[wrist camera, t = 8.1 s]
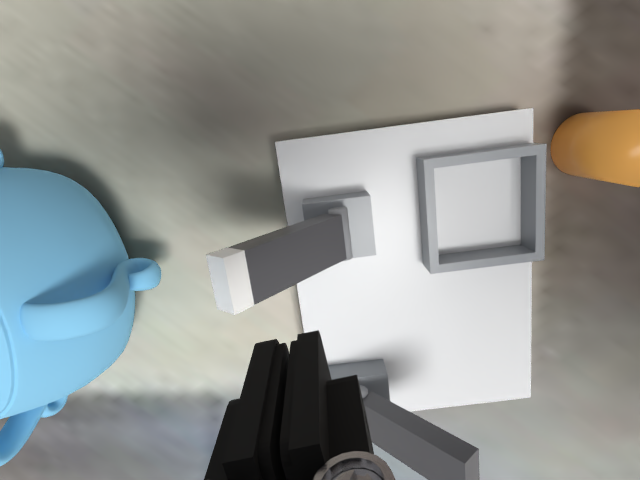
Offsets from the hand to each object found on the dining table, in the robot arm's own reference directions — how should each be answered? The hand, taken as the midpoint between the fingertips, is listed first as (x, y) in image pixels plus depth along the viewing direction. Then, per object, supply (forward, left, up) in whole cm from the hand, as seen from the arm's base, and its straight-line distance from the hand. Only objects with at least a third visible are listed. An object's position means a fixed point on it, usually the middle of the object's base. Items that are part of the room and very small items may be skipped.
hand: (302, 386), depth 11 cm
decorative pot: (+20, +1, -21) cm, 29 cm away
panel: (-7, +5, -21) cm, 22 cm away
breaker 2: (-2, +13, -16) cm, 21 cm away
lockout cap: (-20, -3, -21) cm, 29 cm away
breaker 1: (-2, 0, -16) cm, 16 cm away
